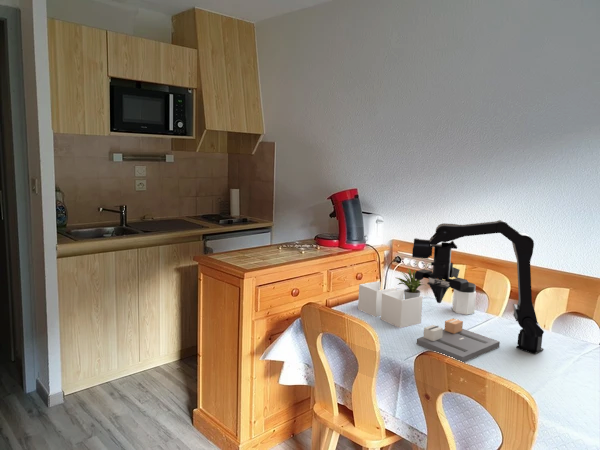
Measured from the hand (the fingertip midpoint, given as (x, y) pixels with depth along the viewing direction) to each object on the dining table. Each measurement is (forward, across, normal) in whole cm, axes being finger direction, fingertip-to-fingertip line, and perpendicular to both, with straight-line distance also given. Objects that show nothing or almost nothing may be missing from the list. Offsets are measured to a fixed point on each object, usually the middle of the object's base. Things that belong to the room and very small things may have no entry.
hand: (439, 302), depth 165 cm
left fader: (+11, -2, +6) cm, 13 cm away
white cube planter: (+14, +26, -4) cm, 29 cm away
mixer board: (+13, -9, 0) cm, 16 cm away
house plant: (+13, +30, -25) cm, 41 cm away
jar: (+13, +10, -34) cm, 38 cm away
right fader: (+11, -3, -6) cm, 13 cm away
